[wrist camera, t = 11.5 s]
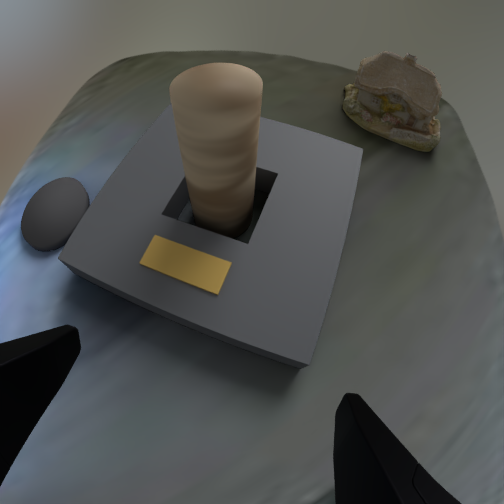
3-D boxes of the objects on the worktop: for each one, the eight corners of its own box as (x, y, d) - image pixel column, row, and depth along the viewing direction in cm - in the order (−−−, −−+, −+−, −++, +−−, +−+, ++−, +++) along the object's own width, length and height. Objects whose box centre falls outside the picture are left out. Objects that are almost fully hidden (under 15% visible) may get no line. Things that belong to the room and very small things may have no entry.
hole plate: (300, 368, 21) (310, 364, 18) (74, 273, 23) (56, 257, 20) (354, 169, 29) (363, 147, 26) (177, 119, 32) (174, 97, 29)
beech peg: (217, 250, 25) (203, 122, 13) (182, 211, 26) (153, 84, 14) (264, 217, 26) (282, 87, 14) (228, 182, 28) (225, 55, 16)
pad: (60, 263, 23) (55, 258, 22) (14, 236, 24) (9, 231, 23) (104, 193, 27) (100, 186, 26) (54, 176, 28) (50, 171, 27)
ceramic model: (326, 114, 33) (344, 44, 24) (350, 79, 38) (366, 23, 29) (431, 166, 31) (469, 105, 22) (436, 122, 35) (463, 70, 26)
